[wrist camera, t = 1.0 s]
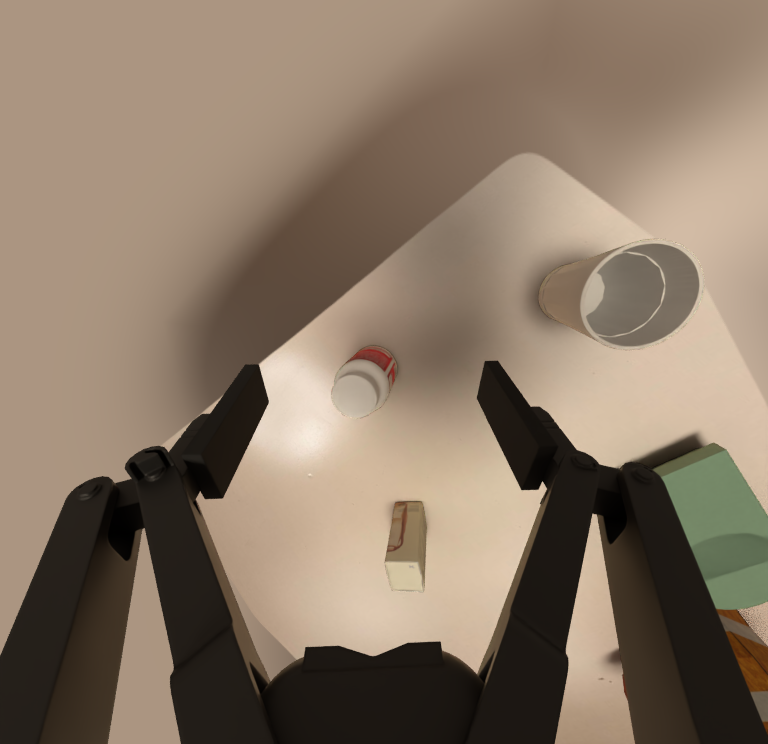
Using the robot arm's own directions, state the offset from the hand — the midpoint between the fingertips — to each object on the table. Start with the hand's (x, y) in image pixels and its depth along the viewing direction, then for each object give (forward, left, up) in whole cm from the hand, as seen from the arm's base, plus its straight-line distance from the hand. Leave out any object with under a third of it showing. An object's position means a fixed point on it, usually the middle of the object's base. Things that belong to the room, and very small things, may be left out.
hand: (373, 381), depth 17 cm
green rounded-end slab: (+16, +41, -21) cm, 49 cm away
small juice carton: (+28, +7, -21) cm, 36 cm away
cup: (-8, +17, -21) cm, 28 cm away
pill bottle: (+6, -3, -21) cm, 22 cm away
